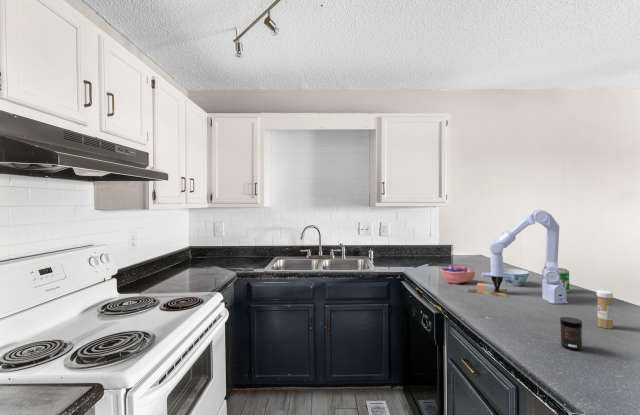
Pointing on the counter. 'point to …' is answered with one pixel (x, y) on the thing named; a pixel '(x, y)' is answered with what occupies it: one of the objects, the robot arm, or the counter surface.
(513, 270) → the chinaware
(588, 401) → the counter surface
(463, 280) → the cell model
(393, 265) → the counter surface
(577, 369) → the counter surface
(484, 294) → the maple chute
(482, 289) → the terracotta block
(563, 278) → the soda can
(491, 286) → the grey-blue block
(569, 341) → the supplement container
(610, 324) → the sprinkles bottle
